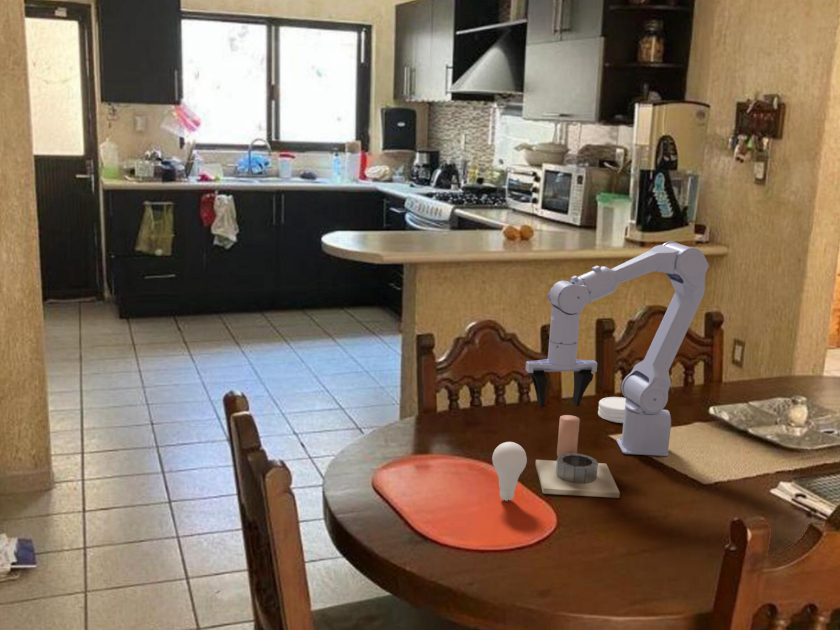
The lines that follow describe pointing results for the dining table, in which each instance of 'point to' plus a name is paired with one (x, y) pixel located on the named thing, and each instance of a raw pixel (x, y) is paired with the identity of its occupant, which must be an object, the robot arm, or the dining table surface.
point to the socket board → (576, 476)
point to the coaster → (612, 409)
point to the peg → (568, 434)
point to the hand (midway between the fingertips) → (558, 405)
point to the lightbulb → (508, 467)
